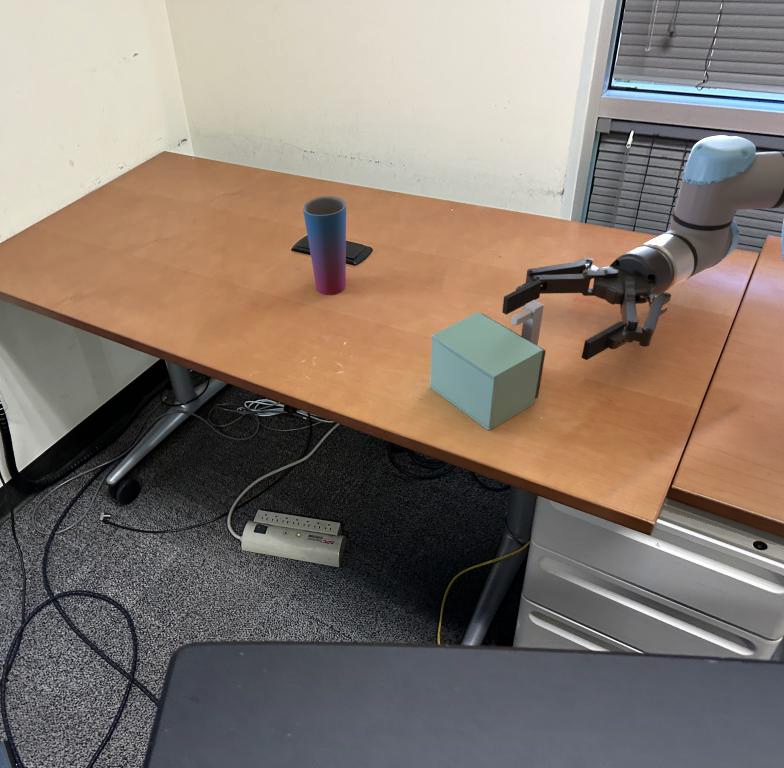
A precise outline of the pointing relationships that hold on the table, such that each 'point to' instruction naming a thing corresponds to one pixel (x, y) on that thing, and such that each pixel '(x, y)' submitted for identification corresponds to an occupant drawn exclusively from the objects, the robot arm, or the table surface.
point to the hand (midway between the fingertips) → (543, 327)
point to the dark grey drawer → (530, 328)
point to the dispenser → (484, 369)
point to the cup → (327, 242)
